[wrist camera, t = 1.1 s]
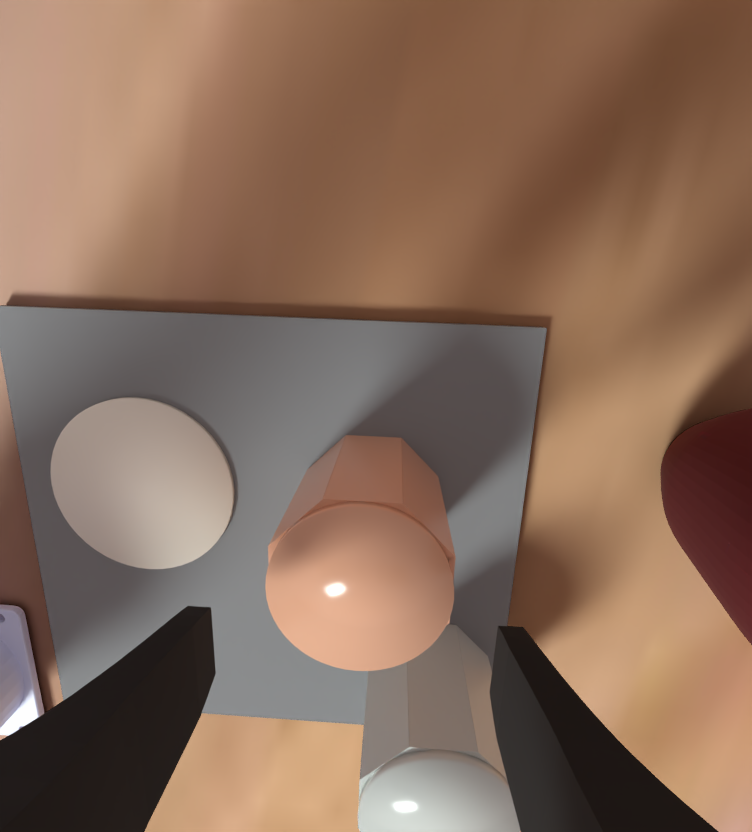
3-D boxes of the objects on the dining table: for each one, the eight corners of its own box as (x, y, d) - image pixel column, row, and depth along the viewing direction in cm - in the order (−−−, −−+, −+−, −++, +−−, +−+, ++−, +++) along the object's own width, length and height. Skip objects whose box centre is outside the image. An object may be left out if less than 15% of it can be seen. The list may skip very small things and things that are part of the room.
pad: (69, 560, 21) (64, 563, 21) (42, 392, 19) (36, 394, 19) (238, 570, 21) (236, 574, 21) (230, 401, 19) (227, 403, 19)
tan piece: (307, 551, 21) (267, 664, 14) (306, 432, 19) (262, 501, 13) (431, 558, 20) (446, 677, 14) (441, 439, 19) (462, 512, 13)
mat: (71, 693, 24) (64, 703, 24) (4, 305, 19) (-8, 305, 18) (490, 723, 23) (492, 734, 23) (542, 327, 18) (547, 328, 18)
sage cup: (367, 714, 23) (355, 872, 17) (371, 619, 21) (360, 755, 15) (479, 722, 23) (511, 885, 16) (491, 627, 21) (530, 767, 15)
